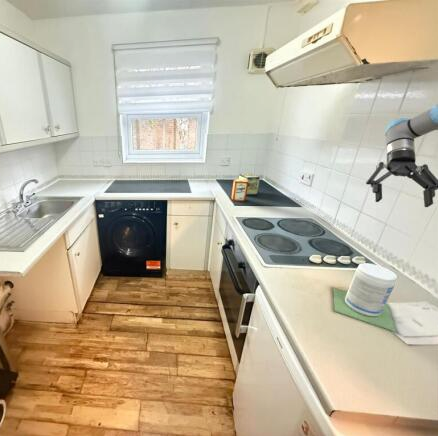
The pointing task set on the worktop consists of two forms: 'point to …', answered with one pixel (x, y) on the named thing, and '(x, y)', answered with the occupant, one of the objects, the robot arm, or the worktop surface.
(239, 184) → the baking soda box
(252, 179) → the protein box
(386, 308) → the mat
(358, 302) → the supplement tub
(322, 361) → the worktop surface
